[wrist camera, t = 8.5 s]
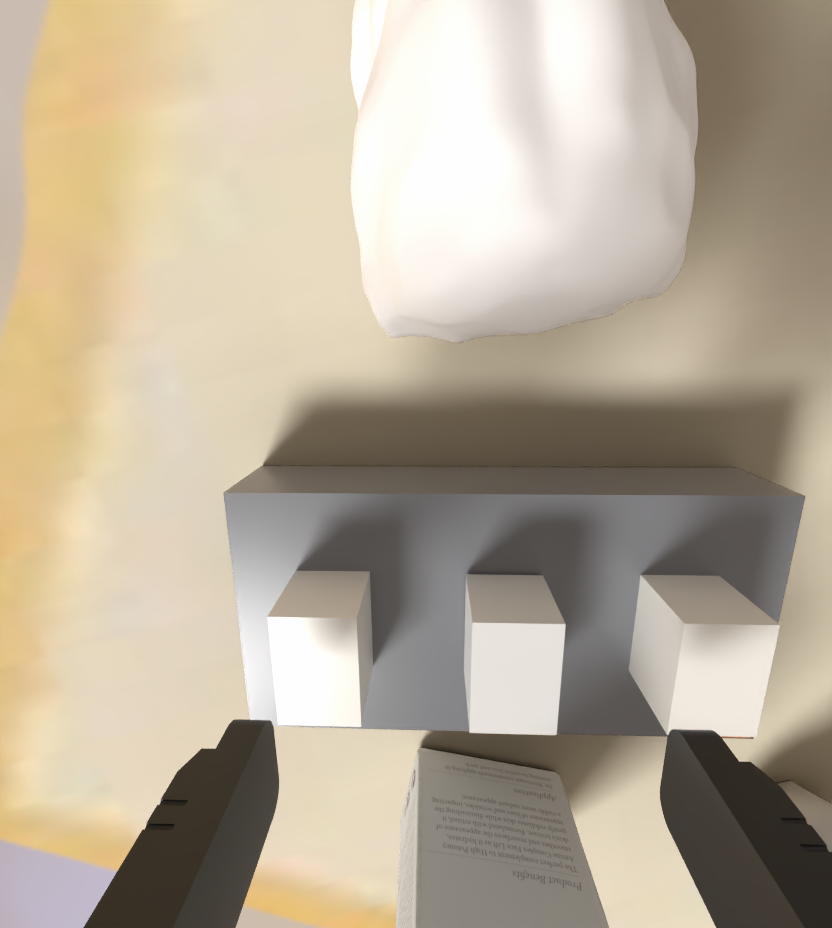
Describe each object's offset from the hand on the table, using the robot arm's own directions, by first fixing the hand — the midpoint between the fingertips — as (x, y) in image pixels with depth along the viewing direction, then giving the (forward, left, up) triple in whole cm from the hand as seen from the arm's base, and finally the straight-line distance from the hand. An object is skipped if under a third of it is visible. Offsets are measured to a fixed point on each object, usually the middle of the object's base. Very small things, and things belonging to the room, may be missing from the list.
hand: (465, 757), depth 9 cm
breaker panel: (0, +1, -8) cm, 8 cm away
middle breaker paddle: (0, +1, -4) cm, 5 cm away
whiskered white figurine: (-14, 0, -8) cm, 16 cm away
